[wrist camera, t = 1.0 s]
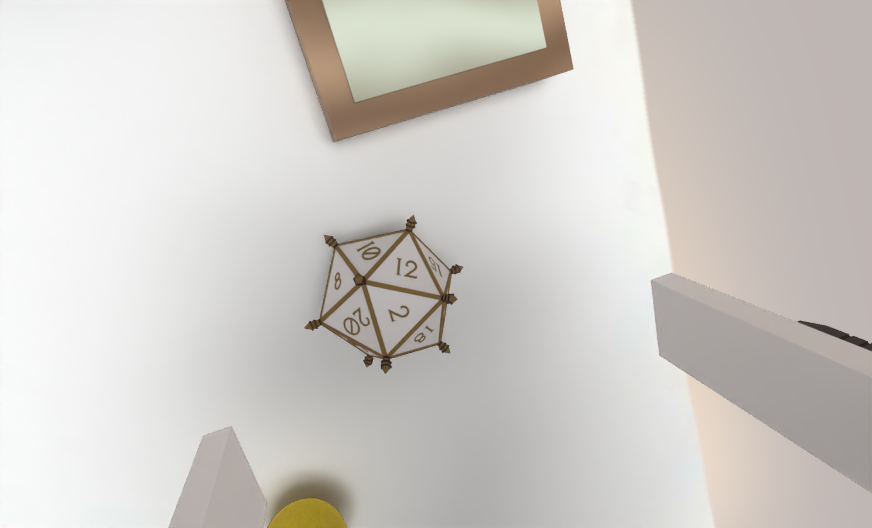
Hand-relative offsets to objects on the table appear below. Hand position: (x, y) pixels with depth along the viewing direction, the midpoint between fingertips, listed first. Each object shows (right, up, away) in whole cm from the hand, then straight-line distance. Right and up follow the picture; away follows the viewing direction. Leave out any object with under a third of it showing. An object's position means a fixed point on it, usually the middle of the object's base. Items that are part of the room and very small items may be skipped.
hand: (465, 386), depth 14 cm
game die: (-5, +3, +17) cm, 18 cm away
